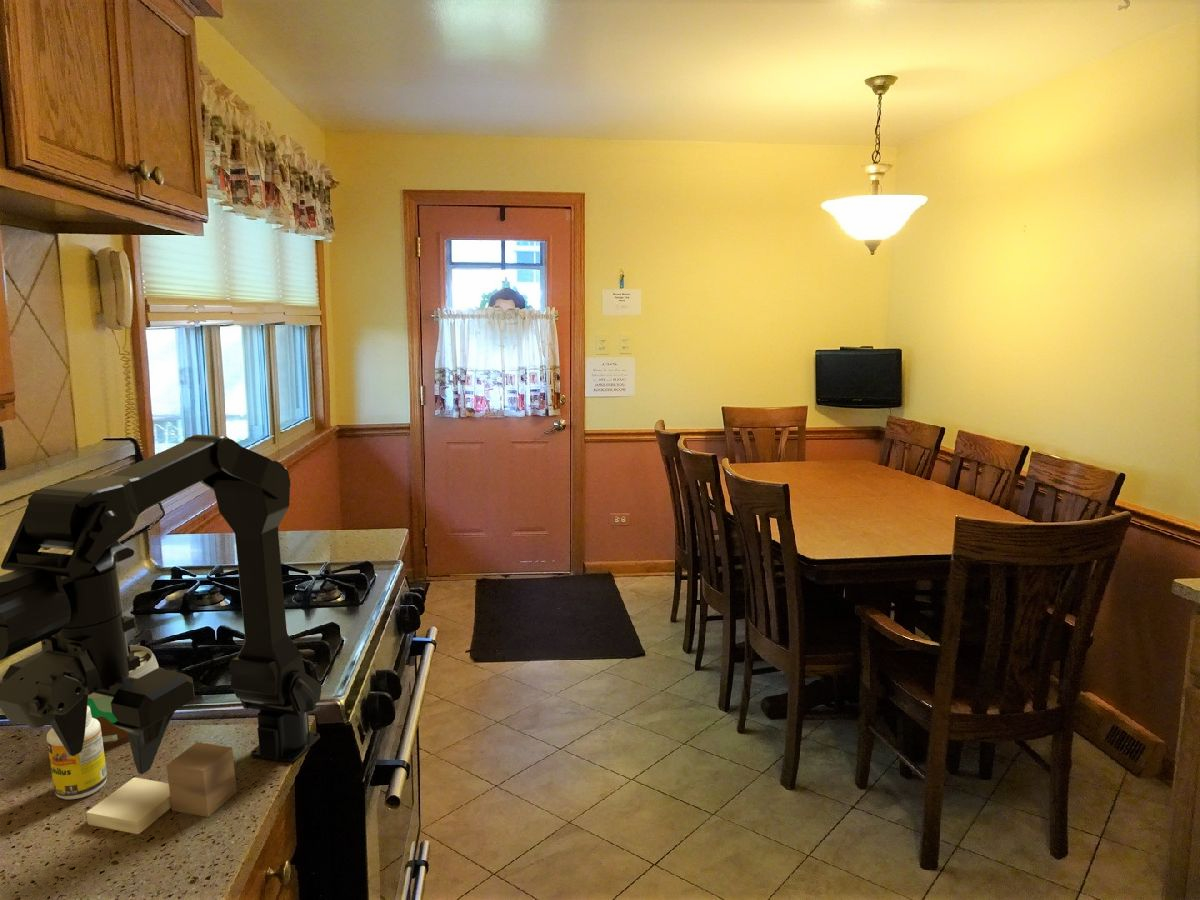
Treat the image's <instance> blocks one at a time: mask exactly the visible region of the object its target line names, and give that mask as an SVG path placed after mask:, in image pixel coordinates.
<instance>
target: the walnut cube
mask: <svg viewBox="0 0 1200 900" xmlns="http://www.w3.org/2000/svg"><path fill="white" fill-rule="evenodd" d="M234 763H235V761H234V752H233V747H232V746H225V745H218V744H213V743H205V742H199V741H196V742H195V743H194V744H192V745H191V746H189V747H188V748H187V749H186V750H185V751H183V752H181V753H180V754H179V755H178V756H176V757H175V758H174V759H173V760H171V761H170V762H168V763H167V764H166V771H167V773H166V774H167V781H168V783H169V790H170V798H171V806H172V807H171V811H173V812H180V813H184V814H191V815H196V816H201V817H207V818H209V817H210V816H211V815H212V814H214V812H215V811H216V810H218V809H219V808H220V807H221V806H222V805H223V804H225V803H226V802H227V801H228V800H229V799H231V797H232V796H234V795H235V794H236V793H237V791H238V790H237V782H236V781H237V780H236V773H235V772H236V771H235V764H234Z"/></svg>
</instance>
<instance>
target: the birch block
mask: <svg viewBox="0 0 1200 900" xmlns="http://www.w3.org/2000/svg"><path fill="white" fill-rule="evenodd" d="M170 809H172V806H171V798H170V790H169V782H168V783H167V782H163V781H157V780H152V779H150V780H149V779H145V778H141V777H133V778H131V779H130V780H129V781H127V782H126V783H124V784H123V785H121V786H120V787H118V789H116V790H115V791H114V792H112V793H111V794H109V795H108V796H106V797H105V798H103V799H102V800H101V801H100V802H98V803H97V804H96V805H94V806H93V807H91V808H90V809H89V810H87V811H86V819H87V825H89V826H93V827H94V826H95V827H100V828H105V829H110V830H114V831H115V830H116V831H121V832H125V833H126V832H127V833H131V834H136V835H140V834H141V833H142V832H143V831H145V830H146V829H148V827H149V826H151V825H152V824H153V823H154V822H156V821H157V820H158V819H159V818H160V817H162V816H163V815H164V814H166V812H168V811H169V810H170Z"/></svg>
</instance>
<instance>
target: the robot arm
mask: <svg viewBox="0 0 1200 900" xmlns="http://www.w3.org/2000/svg"><path fill="white" fill-rule="evenodd" d="M197 483H198V484H199V483H201V484H203V485H204V486H205V487H207V488H208V489H210V490H212V491H213V492H214V497H215V501H216V505H217V508H218V512H219V513H220V515H221V516H222V517H223V519H224V521H225V522H226V523H227V524H228V526H229V527H230V529H231V530H232V531H233V533H234V540H235V547H236V557H237V559H236V561H237V568H238V569H237V571H238V580H239V582H238V583H239V590H240V600H241V610H242V611H241V613H242V620H243V631H244V643H243V645H242V647H241V649H240V650H239V651H238V654H237V655H236V657H234V658H231V660H230V661H229V664H228V669H229V672H230V687H229V689H230V690H233V692H234V695H235V696H236V698H237V699H239V701H240V703H241V706H242V708H243V709H244V710H255V711H256V710H257V711H259V712H257V714H256V716H257V726H258V727H257V738H258V744H257V746H255V747H254V749H252V750H251V751H250V756H251V757H253V758H260V759H268V760H272V761H280V762H286V763H293V762H296V760H297V759H299V758H300V757H301V756H302V755H304V753H305V752H306V751H308V749H310V747H312V746H313V745H314V744H315V743H316V742H317V741H318V740H320V738H321V736H320V733H318V732H311V730H310V720H309V712H312V711H314V710H315V709H317V705H316V704H317V703H318V702H319V701H320V700H321V695H322V683H320V682H319V681H317V680H316V679H315V678H313V677H312V676H310V675H308V674H307V673H306V669H305V665H304V659H303V654H302V652H301V651H300V649H299V648H298V646H297V645H296V644H295V643H294V642H293V640H292V639H291V637H290V636H289V634H288V630H287V621H286V608H285V607H286V606H285V595H284V585H283V584H284V583H283V574H282V573H283V572H282V559H281V549H280V537H279V536H280V535H279V526H280V524H281V523H282V520H283V519H284V517H285V515H286V513H287V511H288V509H289V507H290V500H291V499H290V496H291V495H290V493H291V492H290V490H291V477H290V472H289V470H288V469H287V467H285V466H284V465H283V464H282V463H281V462H279V461H277V460H271V458H269V457H267V456H265V455H262V454H260V453H257V452H255V451H254V450H250V449H248V448H246V447H243V446H242V445H241V444H239V443H238V442H237V441H235V440H234V439H232V438H230V437H228V436H226V435H213V434H212V435H211V434H192V435H191V436H189V437H187V438H185V439H184V440H183V442H180V443H178V444H176V445H173V446H172V447H168V448H167V449H165V450H163V451H160V452H158V453H156V454H154V455H152V456H149V457H147V458H146V459H143V460H140V461H137V462H136V463H134V464H132V465H129V466H127V467H125V468H122V469H120V470H118V471H115V472H113V473H112V474H108V475H105V476H100V477H94V478H87V479H77V480H71V481H66V482H62V483H57V484H53V485H49V486H45V487H41V488H40V489H38V490H37V491H35V492H33V493H32V494H31V495H30V497H28V499H27V502H28V504H27V505H26V508H25V511H24V514H23V516H22V518H21V520H20V522H19V524H18V527H17V529H16V531H15V534H14V535H13V538H12V539H11V542H10V544H9V547H8V548H7V551H6V552H5V555H4V557H3V560H2V562H1V563H0V564H1V565H0V568H1V570H3V571H9V572H7V573H5V574H2V575H0V661H3V660H4V659H7V658H8V657H11V656H13V655H16V654H17V653H19V652H22V651H24V650H25V649H27V648H30V647H32V646H34V645H36V644H38V643H41V651H39V652H37V653H35V654H33V655H29V656H28V657H26V658H24V659H21V660H19V661H16V662H15V663H12V664H9V666H8V668H7V669H6V671H5V673H4V675H3V676H2V683H1V685H0V711H1V712H2V713H3V714H4V716H5V717H6V718H7V720H8V722H10V723H13V724H15V723H17V724H22V725H25V726H29V728H33V729H38V728H43V727H45V726H47V725H48V724H49V725H50V727H51V729H52V728H53V729H54V731H55V733H56V734H57V736H58V737H59V739H60V741H61V742H62V744H63V746H64V747H65V749H66V750H67V752H68V754H69V755H70V756H75V755H77V754H78V753H80V752H81V751H82V748H83V742H84V737H85V726H86V714H87V703H88V695H90V694H92V693H97V694H101V695H106V696H110V697H114V698H113V699H112V701H111V709H112V714H113V715H114V716H115V717H116V719H117V720H118V721H116V722H115V723H113V726H116V727H118V728H120V729H123V730H125V731H127V733H128V737H129V742H128V743H129V744H130V745H129V746H130V751H131V753H132V758H133V762H134V765H135V768H136V770H137V773H138V774H139V775H143V774H146V773H147V772H148V771H150V770H151V768H152V766H153V763H154V761H155V759H156V756H157V753H158V751H159V748H160V745H161V742H162V741H163V738H164V735H165V733H166V730H167V728H168V726H169V724H170V722H171V720H172V718H173V716H174V714H175V713H176V711H177V710H179V709H181V708H182V707H184V706H185V705H186V704H188V703H190V702H193V700H195V696H196V695H195V688H194V680H193V677H192V676H189V675H187V674H186V673H183V672H177V671H172V670H170V669H169V670H168V669H163V668H160V667H159V668H157V669H155V670H153V671H151V672H149V673H147V674H146V675H144V676H142V677H140V678H133V677H128V676H129V671H131V670H133V669H135V668H137V667H139V666H141V665H140V658H139V656H135V655H130V654H129V653H130V652H129V648H128V647H129V646H128V641H127V640H128V639H127V632H128V631H130V630H133V629H134V628H136V620H135V617H132V616H128V615H127V616H126V615H124V610H123V603H122V596H121V590H120V589H121V587H120V580H119V574H118V566H117V563H120V562H122V561H124V560H127V559H130V558H132V557H134V555H135V550H134V549H133V548H130V547H128V546H126V545H124V544H122V543H121V542H119V540H121V539H122V538H123V537H124V536H125V535H127V534H128V533H129V532H131V531H132V530H133V528H134V527H135V526H136V523H137V520H138V517H140V515H142V514H143V513H144V512H145V511H147V510H148V509H150V508H152V507H154V506H156V505H158V504H160V503H162V502H164V501H166V500H168V499H169V498H171V497H173V496H175V495H177V494H179V493H181V492H183V491H185V490H186V489H189V488H190V487H192V486H194V485H196V484H197ZM41 548H49V549H57V550H58V549H61V550H67V551H68V550H70V551H72V553H71V554H69V553H67V554H66V553H56V552H47V551H39V550H40V549H41Z"/></svg>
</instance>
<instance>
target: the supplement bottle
mask: <svg viewBox="0 0 1200 900" xmlns="http://www.w3.org/2000/svg"><path fill="white" fill-rule="evenodd" d="M46 743H47V744H46V745H47V750H48V758H49V763H50V772H51V779H52V785H53V791H54V794H55V795H56V796H57V797H58V798H60V799H62V800H76V799H81V798H85V797H88V796H91V795H92V794H94V793H96V792H98V791H99V790H100V789H101V788H102V787H104V785H105V784H106V782H107V780H108V773H107V765H106V757H105V750H104V748H105V747H104V748H103V741H102V733H101V726H100V722H99V721H98V720H97V719H95V718H92V715H91V711H90V707H89V706H87V714H86V726H85V737H84V742H83V748H82V751H81V752H80V753H78V754H77V755H75V756H70V755H69V754H68V752H67V750H66V749H65V747H64V746H63V744H62V742H61V741H60V739H59V737H58V736H57V734H56V733H55V731H54V729H53V728H52V727H51V728H50V729H49V731H48V732H47V734H46Z"/></svg>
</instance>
